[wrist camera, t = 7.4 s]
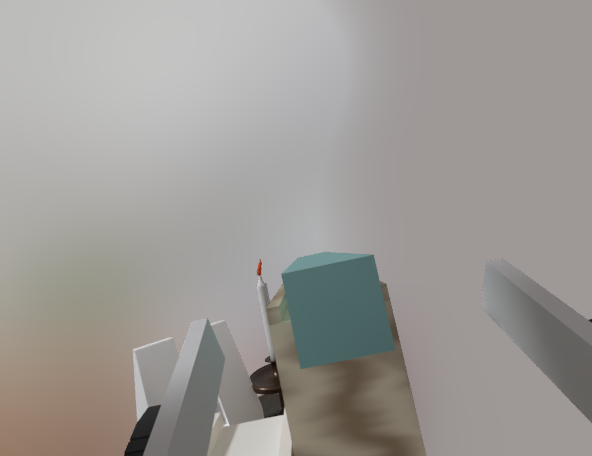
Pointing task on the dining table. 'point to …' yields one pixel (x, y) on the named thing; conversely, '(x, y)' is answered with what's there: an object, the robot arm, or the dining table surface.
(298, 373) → the stand
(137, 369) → the white slotted block
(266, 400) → the dining table surface
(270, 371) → the candlestick
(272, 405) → the dining table surface
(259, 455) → the white lidded box
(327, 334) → the bar
